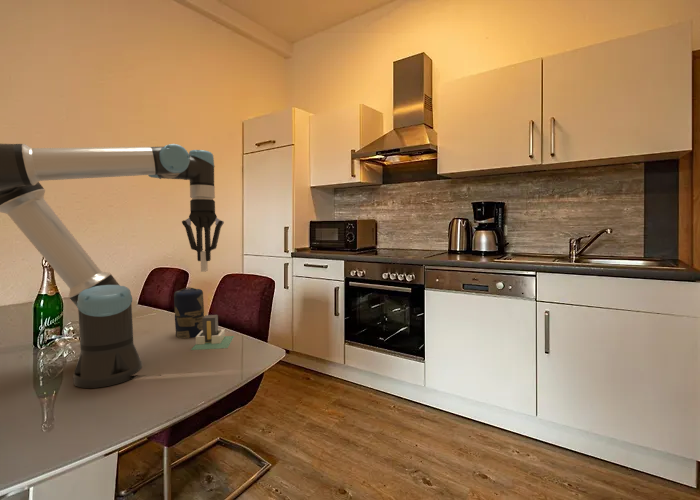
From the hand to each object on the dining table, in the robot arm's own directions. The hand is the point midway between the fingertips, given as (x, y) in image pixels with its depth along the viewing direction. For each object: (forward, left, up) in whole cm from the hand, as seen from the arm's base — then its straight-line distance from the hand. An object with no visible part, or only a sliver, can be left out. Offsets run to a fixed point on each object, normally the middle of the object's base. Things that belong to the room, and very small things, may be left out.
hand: (204, 271), depth 121 cm
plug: (0, -1, -23) cm, 23 cm away
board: (-2, -3, -25) cm, 25 cm away
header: (0, -1, -23) cm, 23 cm away
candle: (+9, +8, -25) cm, 27 cm away
